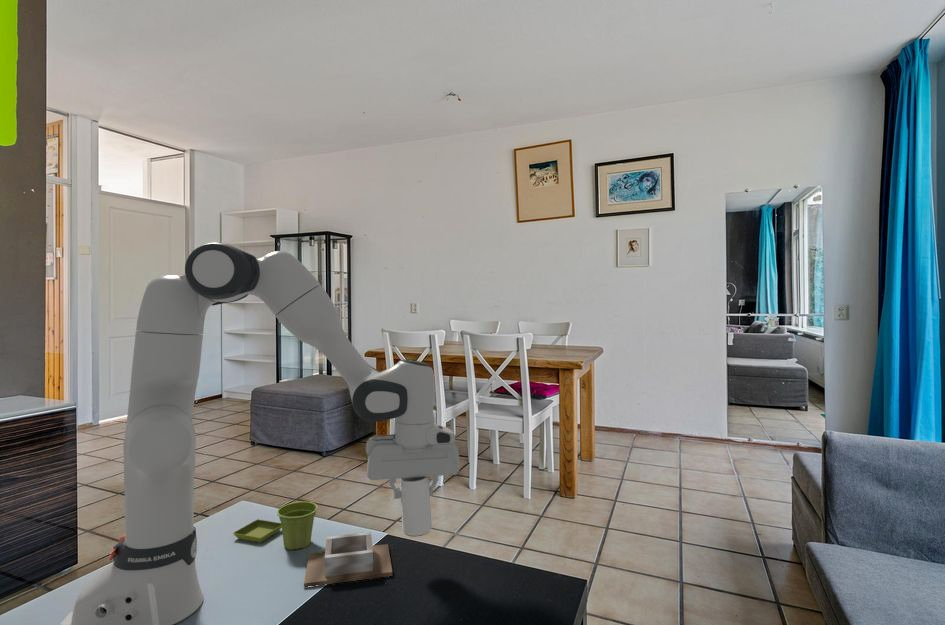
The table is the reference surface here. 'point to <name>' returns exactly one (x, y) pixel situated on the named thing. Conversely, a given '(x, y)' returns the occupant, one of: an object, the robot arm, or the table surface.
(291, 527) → the plant pot
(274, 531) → the saucer
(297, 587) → the table surface
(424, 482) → the can
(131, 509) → the robot arm
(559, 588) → the table surface
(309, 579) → the socket board
